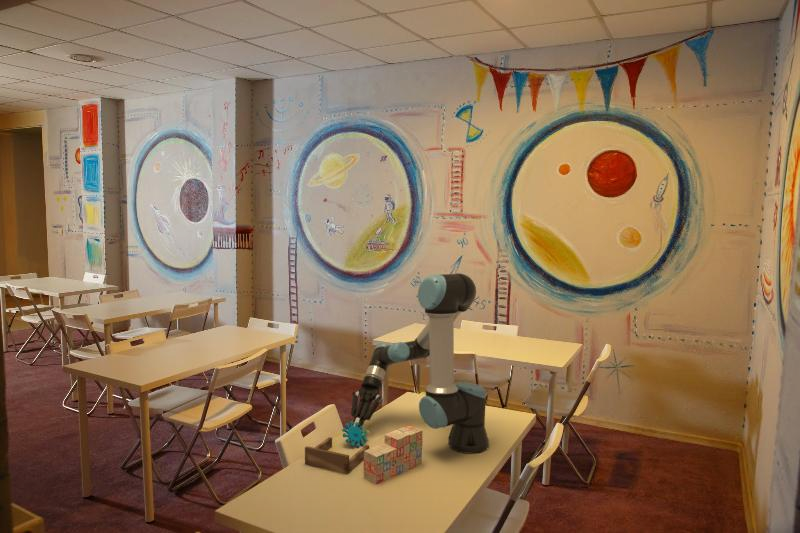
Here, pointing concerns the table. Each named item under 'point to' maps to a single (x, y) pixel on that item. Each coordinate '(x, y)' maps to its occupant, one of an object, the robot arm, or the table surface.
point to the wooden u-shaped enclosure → (332, 458)
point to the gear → (355, 434)
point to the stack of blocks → (394, 454)
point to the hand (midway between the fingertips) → (353, 435)
